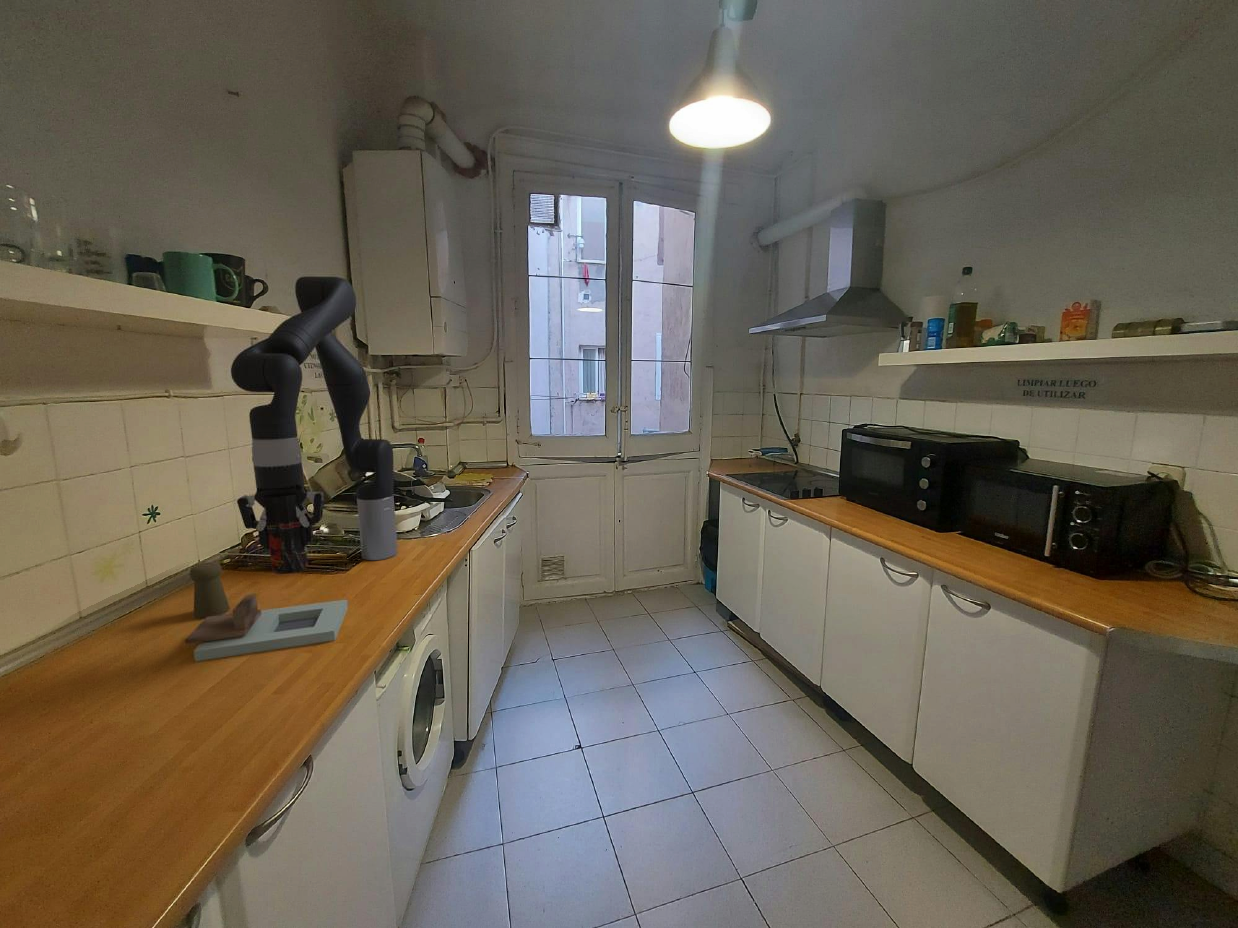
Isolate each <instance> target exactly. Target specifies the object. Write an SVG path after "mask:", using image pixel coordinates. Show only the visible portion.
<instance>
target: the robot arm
mask: <svg viewBox="0 0 1238 928" xmlns="http://www.w3.org/2000/svg"><path fill="white" fill-rule="evenodd" d="M294 287H295V288H294V291H295V298H296V301H297V306H298V309H299V310H300V313H297V314H295V315H293V316H291V317H289V318H287V319H285V320H284V321H282V322H281V323H280V324H279V325H278V326H277V327H276V328H275V329H274V331H273V332H271V334H270V335H269V336H268V337H267V338H265V339H262V340H261V341H258V342H255V344H253V345H250V346H249V347H247V348H245V349H244V350H241V352H239V354H237V356H235V358H234V359H233V362H232V364H231V368H230V375H231V379H232V381H233V382H234V383H235V385H236V386H237V387H238V388H239V389H241V390H243V391H245V392H250V393H273V397H272V399H271V402H270V403H268V404H263V405H258V406H255V407H254V406H253V407H252V408H251V409H250V411H249V425H250V432H251V434H250V435H251V455H252V456H251V461H252V465H253V472H254V473H253V474H254V480H255V488H256V491H255V493H254V494H253V495H246V494H245V495H243V496H241V497H239V498H238V499H237V500H236V502H237V506H238V507H237V508H238V509H239V513H240V515H241V519H242V522H243V525H244V527H245V529H253V530H256V531H257V532H258V540H259V545H260V546H261V547H263V549H264V550H269V543H268V535H267V527H266V511H265V508H264V501H263V496H276V495H293V494H297V498H298V504H299V506H300V505H301V504H302V511H300V509H299V508H298V507H297V506H296V514H297V518H299V520H300V523H301V524H302V525H303V527H302V535H303V544H304V545H306V546H309V545H310V544H311V542H312V541H313V540H314V529H313V525H315V524H318V523H320V521H321V520H322V519H323V515H324V513H323V512H324V501H325V500H324V499H325V492H324V491H323V490H318V491H309V490H307V488H306V487H305V479H304V471H303V461H302V452H301V451H302V450H301V445H300V442H299V437H298V430H297V429H298V428H297V421H296V420H297V419H296V417H297V415H296V414H297V407H298V401H299V396H300V391H301V387H302V382H303V370H302V367H301V365H302V364H304V362H306V360H307V359H308V357H309V356H310V355H311V353H312V352H313V351H314V349H315V351H316V355H317V357H318V360H319V364H320V367H321V370H322V375H323V378H324V381H325V385H326V388H327V391H328V394H329V397H330V400H331V403H332V406H333V409H334V413H335V417H336V420H337V422H338V426H339V431H340V437H341V442H342V447H343V452H344V457H345V460H346V463H347V466H348V467H349V469H350V470H351V471H352V472H355V473H371V474H372V473H374V479H373V480H372V481H370V482H367V483H365V484H364V483H363V484H361V485H359V486H358V487H357V488H356V491H355V492H356V503H357V504H356V505H357V515H358V525H359V526H358V529H359V537H360V539H359V540H360V549H361V559H363V560H367V561H380V560H386V559H389V558H392V557H394V556H396V555H397V554H398V538H397V537H398V535H397V526H396V525H397V524H396V510H395V509H396V508H395V499H394V486H395V476H394V474H395V473H394V451H393V450H394V449H393V446H392V444H391V442H390V441H389V440H387V439H384V438H363V436H362V433H361V429H360V423H361V420H362V417H363V414H364V412H365V410H366V409H367V406H368V403H369V401H370V399H371V390H370V386H369V381H368V378H367V375H366V370H365V369H364V366H363V365H362V363H361V362H360V361H359V360H358V359H357V358H356V357H355V356H354V355H353V354H352V353H351V352H350V351H349V350H348V349H347V348H346V347H345V346H344V345H343V344H342V343H341V342H340V340H339V339H338V338H337V336H336V335H335V333H334V330H336V329H337V328H338V327H339V326H341V325H342V324H343V323H345V321H347V320H348V319H350V318H351V317H352V316H353V314H355V311H356V307H357V298H356V292H355V290H354V287H353V286H352V284H351V283H350V282H349V281H348V280H347V279H345V278H343V277H338V276H299V278H297V280H296V282H295V286H294ZM306 499H309V501H310V503H312V504H313V506H312V507H313V508H312V516H310V514H309V513H308V510H307V509H306V507H305V506H304V504H303V503H304V502H305V500H306ZM255 502H257V504H259V505H260V506H261V507H262V508H263V510H262V512H261V515H260V517H259V520H257V518H256V515H255V512H254V508H253V507H254V505H255Z"/></svg>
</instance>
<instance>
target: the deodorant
mask: <svg viewBox="0 0 1238 928" xmlns="http://www.w3.org/2000/svg"><path fill="white" fill-rule="evenodd" d="M263 501H264V508H265V511H266V527H267V535H268V543H269V549H268V550H269V557H270V559H269V560H270V565H271V566H270V568H271V572H272V573H273V574H275V575H284V574H285V575H288V574H292V573H293V574H294V573H297V572H300V571H303V570H304V569H306V568H308V566H309V561H308V551H307V545H304V544H303V535H302V527H303V525H302V524H301V523H300V520H299V518H297V514H296V506H297V507H298V508H299V509H300V511H302V504H303V503H302V504H301V505H300V506H299V504H298V498H297V494H293V495H276V496H263ZM264 508H263V509H264Z"/></svg>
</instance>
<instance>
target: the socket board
mask: <svg viewBox="0 0 1238 928" xmlns="http://www.w3.org/2000/svg"><path fill="white" fill-rule="evenodd" d="M348 608H349V607H348V599H343V600H334V601H326V602H317V603H311V604H310V603H309V604H301V605H295V606H294V605H293V606H286V607H279V608H270V609H264V610H263V609H260V610H261V613H262V614H261V615H260V616H259V618H258V619H257V620H256V622H255V623H254V624H253V626H252V627H251V628H250V630H249V631H248V632H247V634H246V635H245V636H239V637H231V638H224V639H217V640H210V641H203V642H199V644H198V646H196V648H195V649H194V650H193V656H194V662H201V661H205V660H206V661H207V660H213V659H220V658H221V659H222V658H226V657H232V656H240V655H247V654H252V653H253V654H254V653H260V652H266V651H274V650H279V649H285V648H293V647H299V646H307V645H312V644H320V643H327V642H333V641H336V640H337V636H338V634H339V631H340V628H341V626H342V624H343V621H344V619H345V617H346V614H347V611H348Z"/></svg>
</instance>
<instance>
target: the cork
mask: <svg viewBox="0 0 1238 928" xmlns="http://www.w3.org/2000/svg"><path fill="white" fill-rule="evenodd" d="M222 572H223V569H222V566H221V564H220V563H219V562H218V561H217V562H216V561H206V562H205V561H204V562H201V563H197V564H196V565H194V566H192V567H191V568H190V570H189V577H190V579H191V580H192V581H193V582H194V583H193V584H194V586H193V587H194V592H193V595H194V596H193V618H194V619H195V620H204V619H205V618H206V617H209V616H217V615H225V614H227V613H228V612H229V611H230V609H231V607H230V605H229V602H228V599H227V596H226V593H225V590H224V587H223V583H222V580H221V577H220V576H221V575H222V574H223V573H222Z"/></svg>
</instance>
